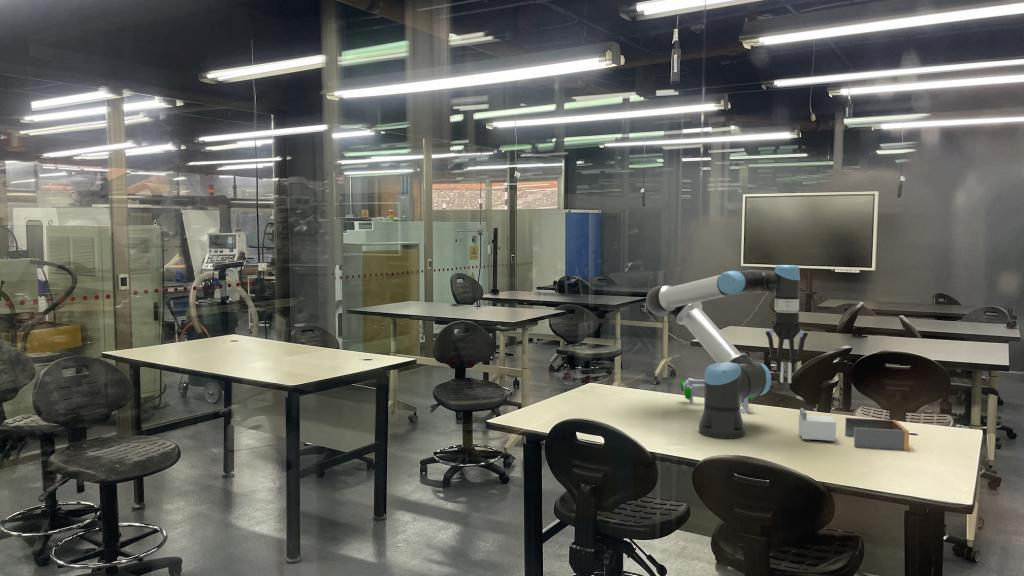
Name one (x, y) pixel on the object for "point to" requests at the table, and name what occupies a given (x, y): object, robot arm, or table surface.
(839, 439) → the table surface
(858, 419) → the bay
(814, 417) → the white chamfered box
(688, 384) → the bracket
